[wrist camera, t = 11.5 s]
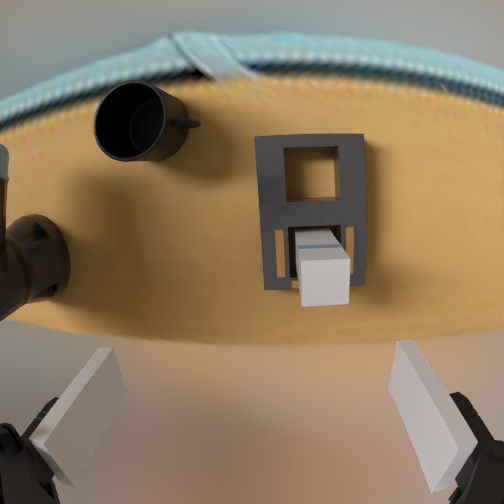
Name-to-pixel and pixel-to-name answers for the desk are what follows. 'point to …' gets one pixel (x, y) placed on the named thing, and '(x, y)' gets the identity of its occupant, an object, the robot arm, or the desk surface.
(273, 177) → the jack panel
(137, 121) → the mug
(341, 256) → the plug
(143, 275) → the desk surface
